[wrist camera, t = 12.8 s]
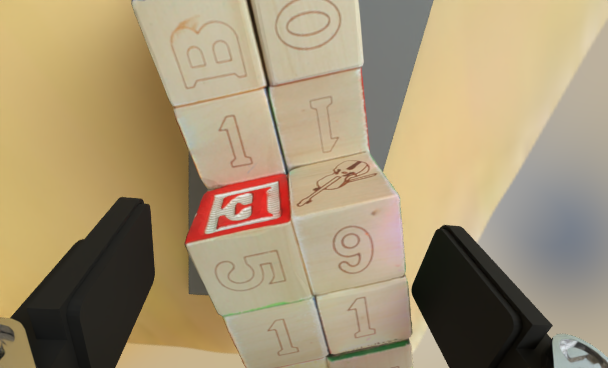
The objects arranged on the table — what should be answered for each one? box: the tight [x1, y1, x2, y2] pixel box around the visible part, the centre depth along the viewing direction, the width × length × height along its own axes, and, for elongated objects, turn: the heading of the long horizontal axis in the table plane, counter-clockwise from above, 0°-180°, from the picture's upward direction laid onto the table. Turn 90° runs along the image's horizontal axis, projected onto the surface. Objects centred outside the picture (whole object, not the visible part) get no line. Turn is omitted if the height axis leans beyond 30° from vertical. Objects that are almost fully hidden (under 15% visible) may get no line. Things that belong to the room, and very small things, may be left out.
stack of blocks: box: [131, 0, 413, 368], centre depth 14 cm, size 21×6×12 cm, turn 11°
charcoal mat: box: [189, 0, 433, 295], centre depth 21 cm, size 27×13×1 cm, turn 171°
